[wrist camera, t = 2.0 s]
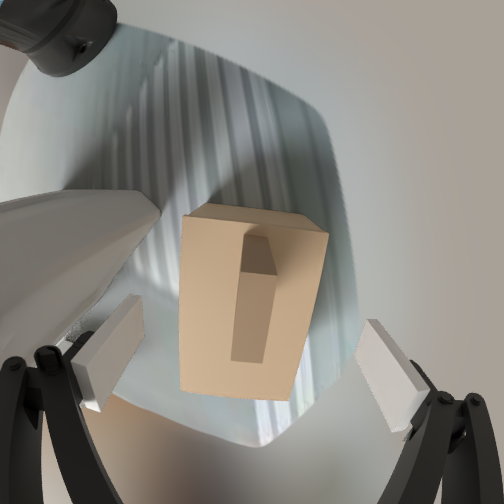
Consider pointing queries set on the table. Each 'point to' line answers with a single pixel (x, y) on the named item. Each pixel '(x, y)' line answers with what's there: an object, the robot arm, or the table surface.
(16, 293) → the grey tapered bin
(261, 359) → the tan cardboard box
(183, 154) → the table surface
